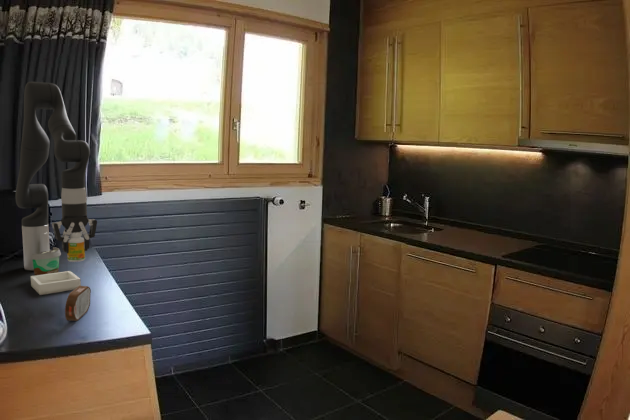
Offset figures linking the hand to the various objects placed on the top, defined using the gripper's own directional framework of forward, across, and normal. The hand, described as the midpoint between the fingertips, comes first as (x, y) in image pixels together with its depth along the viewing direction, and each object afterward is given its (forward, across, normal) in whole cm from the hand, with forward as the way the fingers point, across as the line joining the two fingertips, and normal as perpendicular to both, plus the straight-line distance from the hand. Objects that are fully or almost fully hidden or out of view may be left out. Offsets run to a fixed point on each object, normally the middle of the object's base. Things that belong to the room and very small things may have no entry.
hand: (76, 251), depth 179 cm
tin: (+15, +6, +23) cm, 28 cm away
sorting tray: (+15, +4, -12) cm, 19 cm away
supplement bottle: (+3, 0, 0) cm, 3 cm away
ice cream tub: (+15, +2, -27) cm, 31 cm away
